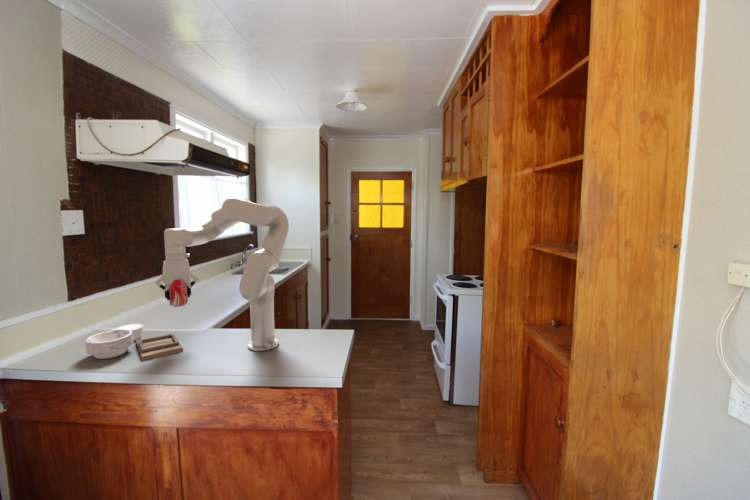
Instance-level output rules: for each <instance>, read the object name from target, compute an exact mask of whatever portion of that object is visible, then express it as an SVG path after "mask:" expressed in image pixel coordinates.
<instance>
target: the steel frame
mask: <svg viewBox="0 0 750 500" xmlns="http://www.w3.org/2000/svg"><path fill="white" fill-rule="evenodd" d="M167 334H168V335H166V334H162V335H163V336H161V335H157V336H158V337H156V336H153V338H151V337H147V338H148V339H145V338H142V339H143V340H140V339H138V340H139V345H140V348H141V351H142V353H144V352H148V351H153V350H157V349H162V348H167V347H171V346H176V345H179V343H180V341H179V340H178V338H177V336H176V335H175V333H173V334H171V333H167ZM170 337H172V339H173V341H174V342H173V343H168V344H164V345H159V346H154V347H149V348H144V345H143V343H145V342H150V341H155V340H160V339H165V338H170Z"/></svg>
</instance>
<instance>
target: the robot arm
mask: <svg viewBox="0 0 750 500" xmlns="http://www.w3.org/2000/svg"><path fill="white" fill-rule="evenodd" d="M210 218H211V219H210V220H209V221H208V222H206V223H204V224H203V225H200V226H198V227H187V228H179V227H175V228H173V227H172V228H166V229H165V230H164V231H163V234H164V235H163V236H164V237H163V239H164V252H165V255H164V256H165V260H163V265H162V276H160V277H159V278H158V279H157V280H156V281H154V283H155V284H156V286H158V287H159V288H160V289H161V290H163V291H164V298H165V299H166V300H167V301H169V300H170V298H169V290H168V288H169V286H170V284H171V283H172V282H173V281H174V279H182V278H183V280H184V281H185V282H186V283H187V292H188V298H191V296H192V287H193V286H194V285H195V284H196V283H197V281H199V278H198V277H197V276H196V275H195V274H193V273H191V269H190V263H189V259H187V258H190V253H186V252H187V251H186V250H187V249H186V247H196V246H200V245H204V244H207V243H209V242H211V241H213V240H215V239H216V238H217V237H219V236H221V235H223V233H224V232H225V231H226V230H228V229H230V228H231V227H233V226H235V225H236V224H238V223H240V222H241V223H245V224H248V225H250V226H255V227H267V230H266V232H265V234H264V237H263V239H262V240H263V241H262V243H261V246H260V249H259V250H257V251H254V252H252V253H251V254H250V255H249V257H248V258H247V260H246V262H245V264H244V268H243V273H242V275H241V279H240V283H239V289H238V290H239V294H240V295H241V297H242V298H243V299H244V300H247V301H249V308H250V309H249V311H250V313H249V314H250V336H251V337H250V338H251V340H250V341H249V342H248V344H247V348H248V349H249V350H251V351H253V352H254V351H255V352H263V351H269V350H272V349H274V348H276V347H277V346H279V344H280V343H279V341H280V340H279V339H278V338H276V336H275V335H276V333H275V299H274V298H275V289H276V288H275V286H276V283H275V279H274V277H273V276H272V275H271V274H270V272H272V271H274V270H276V269H277V268H278V266H279V264H280V259H281V257H282V254H283V250H284V247H285V243H286V240H287V236H288V233H289V229H290V228H289V227H290V225H289V218H288V217H287V215H286V213H285V212H284V211H283V210H282V208H280V207H278V206H276V205H274V204H273V205H272V204H259V203H255V202H252V201H251V200H249V199H248V198H247V197H240V196H238V197H237V196H231V197H228V198H226V199H225V200H224V201H223V202H222V206H221V207H220V208H219V209H217V210H215V211H213V212H212V213H211V216H210ZM191 279H192V280H191ZM162 282H163V283H164V285H163V284H162Z"/></svg>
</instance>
